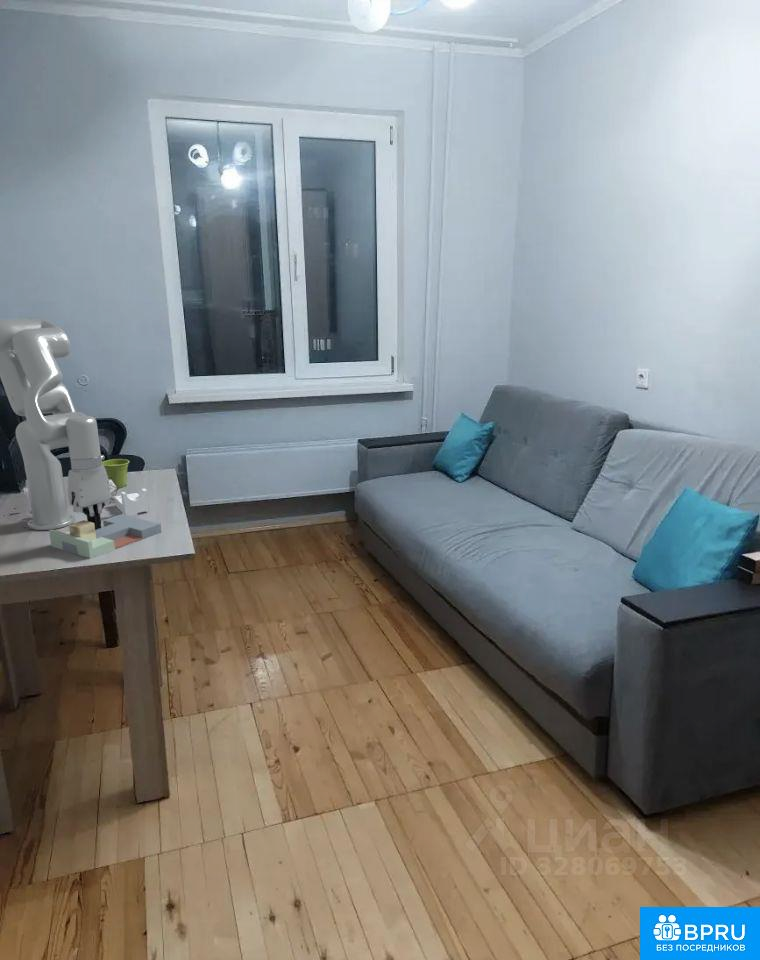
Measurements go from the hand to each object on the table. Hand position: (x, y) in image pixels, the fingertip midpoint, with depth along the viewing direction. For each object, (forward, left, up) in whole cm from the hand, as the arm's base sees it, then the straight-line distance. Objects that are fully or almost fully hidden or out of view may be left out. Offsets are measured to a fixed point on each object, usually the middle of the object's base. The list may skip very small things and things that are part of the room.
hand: (95, 528), depth 187 cm
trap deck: (0, +4, -4) cm, 6 cm away
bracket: (-16, +24, -5) cm, 30 cm away
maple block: (+1, -4, -2) cm, 5 cm away
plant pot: (-43, +39, -5) cm, 58 cm away
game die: (-30, +25, -5) cm, 39 cm away
